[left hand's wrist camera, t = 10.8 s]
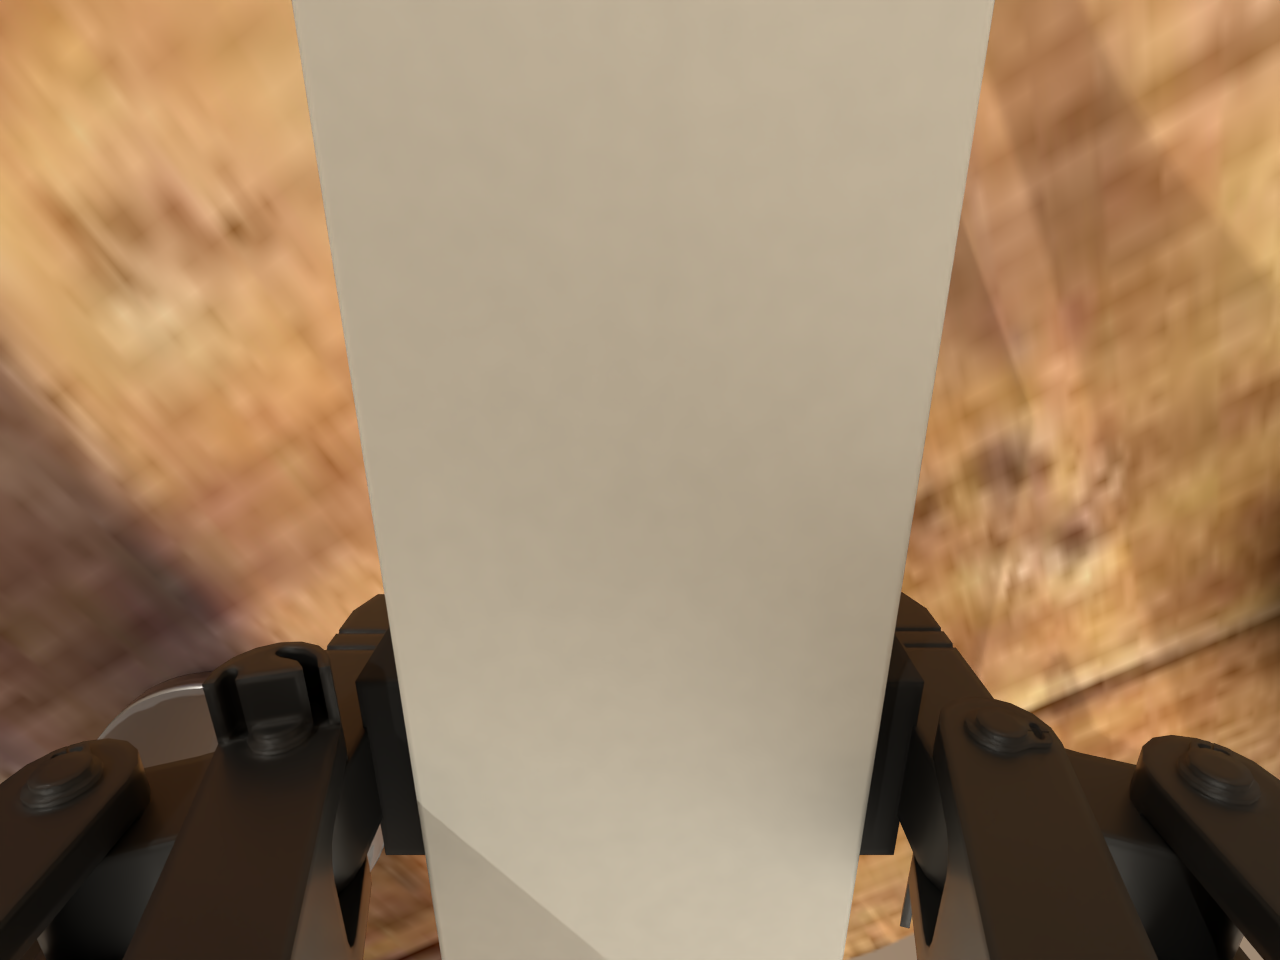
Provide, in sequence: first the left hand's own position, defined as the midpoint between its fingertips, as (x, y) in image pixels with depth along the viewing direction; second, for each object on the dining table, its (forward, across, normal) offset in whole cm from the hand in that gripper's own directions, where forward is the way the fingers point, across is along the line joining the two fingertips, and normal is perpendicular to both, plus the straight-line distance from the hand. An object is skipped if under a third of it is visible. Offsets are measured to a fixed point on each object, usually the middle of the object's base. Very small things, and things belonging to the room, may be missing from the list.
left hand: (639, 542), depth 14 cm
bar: (+1, 0, -10) cm, 10 cm away
